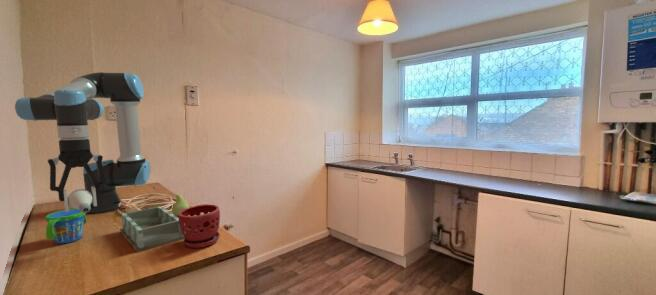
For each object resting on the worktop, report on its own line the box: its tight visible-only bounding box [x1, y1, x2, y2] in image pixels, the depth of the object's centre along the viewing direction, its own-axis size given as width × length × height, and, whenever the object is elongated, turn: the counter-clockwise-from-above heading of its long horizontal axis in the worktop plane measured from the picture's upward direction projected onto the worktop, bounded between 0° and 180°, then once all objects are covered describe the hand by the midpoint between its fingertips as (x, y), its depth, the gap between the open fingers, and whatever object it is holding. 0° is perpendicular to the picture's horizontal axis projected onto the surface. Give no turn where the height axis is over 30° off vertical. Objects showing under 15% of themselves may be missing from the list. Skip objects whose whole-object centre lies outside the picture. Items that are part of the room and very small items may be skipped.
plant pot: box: [177, 204, 221, 248], centre depth 101 cm, size 13×13×12 cm
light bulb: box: [67, 188, 93, 214], centre depth 95 cm, size 7×7×11 cm
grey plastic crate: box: [119, 205, 185, 253], centre depth 108 cm, size 25×15×7 cm, turn 46°
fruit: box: [169, 190, 190, 217], centre depth 128 cm, size 7×8×12 cm
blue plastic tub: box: [45, 208, 88, 245], centre depth 104 cm, size 16×10×10 cm
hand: (81, 207), depth 96 cm, fingers closed on light bulb, 6 cm apart
